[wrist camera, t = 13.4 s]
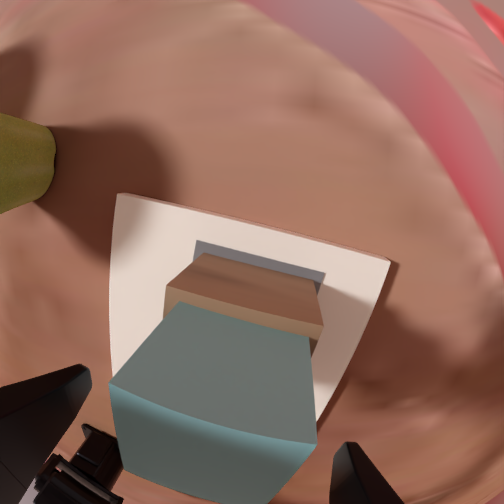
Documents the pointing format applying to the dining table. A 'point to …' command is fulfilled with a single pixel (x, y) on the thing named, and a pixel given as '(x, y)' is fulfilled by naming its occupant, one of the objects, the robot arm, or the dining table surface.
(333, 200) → the dining table surface
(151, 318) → the board
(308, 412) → the teal cube
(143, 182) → the dining table surface
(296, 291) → the walnut block
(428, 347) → the dining table surface
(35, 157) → the plant pot
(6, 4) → the dining table surface
